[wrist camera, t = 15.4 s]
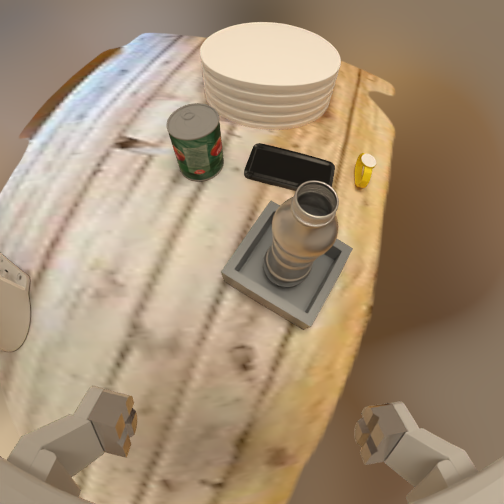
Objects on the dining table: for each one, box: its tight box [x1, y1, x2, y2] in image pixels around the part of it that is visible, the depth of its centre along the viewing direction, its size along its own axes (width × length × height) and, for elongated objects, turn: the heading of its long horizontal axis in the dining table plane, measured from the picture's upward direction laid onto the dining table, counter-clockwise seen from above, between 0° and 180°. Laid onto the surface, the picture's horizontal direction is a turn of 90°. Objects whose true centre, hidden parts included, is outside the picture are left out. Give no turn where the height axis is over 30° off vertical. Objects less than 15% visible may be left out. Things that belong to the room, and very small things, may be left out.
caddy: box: [221, 201, 353, 330], centre depth 40 cm, size 13×12×5 cm
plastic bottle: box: [263, 180, 339, 287], centre depth 32 cm, size 6×7×20 cm
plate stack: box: [200, 22, 341, 130], centre depth 51 cm, size 28×28×12 cm
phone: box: [244, 143, 335, 191], centre depth 48 cm, size 8×1×15 cm
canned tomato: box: [167, 103, 224, 181], centre depth 43 cm, size 8×8×11 cm
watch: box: [354, 153, 376, 188], centre depth 46 cm, size 6×3×6 cm, turn 171°
